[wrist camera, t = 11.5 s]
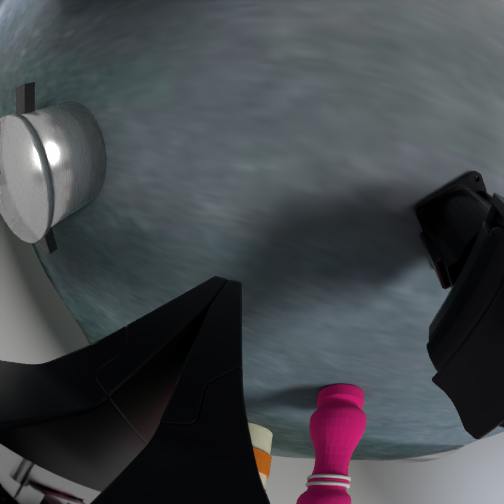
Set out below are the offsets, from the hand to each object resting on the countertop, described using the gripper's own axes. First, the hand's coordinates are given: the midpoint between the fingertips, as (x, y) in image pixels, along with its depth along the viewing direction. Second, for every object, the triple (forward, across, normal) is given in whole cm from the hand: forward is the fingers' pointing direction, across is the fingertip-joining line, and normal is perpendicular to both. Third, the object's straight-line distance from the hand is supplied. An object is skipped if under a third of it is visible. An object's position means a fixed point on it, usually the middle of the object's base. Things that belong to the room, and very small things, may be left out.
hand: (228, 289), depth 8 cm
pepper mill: (+13, -12, +26) cm, 32 cm away
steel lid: (+6, +26, 0) cm, 26 cm away
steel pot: (+13, +23, 0) cm, 27 cm away
